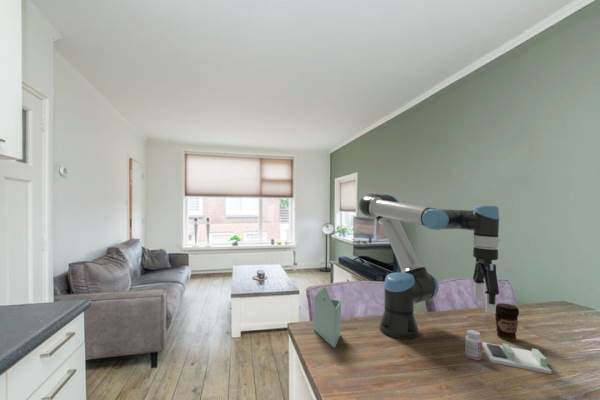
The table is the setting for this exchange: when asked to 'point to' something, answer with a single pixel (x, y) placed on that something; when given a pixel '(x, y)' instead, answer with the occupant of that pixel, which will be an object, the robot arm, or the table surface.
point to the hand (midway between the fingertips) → (484, 306)
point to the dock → (517, 357)
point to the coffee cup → (506, 321)
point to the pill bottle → (473, 345)
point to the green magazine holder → (327, 317)
